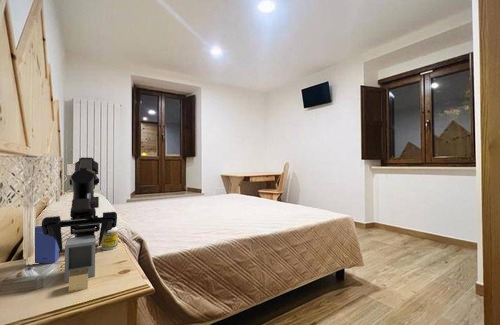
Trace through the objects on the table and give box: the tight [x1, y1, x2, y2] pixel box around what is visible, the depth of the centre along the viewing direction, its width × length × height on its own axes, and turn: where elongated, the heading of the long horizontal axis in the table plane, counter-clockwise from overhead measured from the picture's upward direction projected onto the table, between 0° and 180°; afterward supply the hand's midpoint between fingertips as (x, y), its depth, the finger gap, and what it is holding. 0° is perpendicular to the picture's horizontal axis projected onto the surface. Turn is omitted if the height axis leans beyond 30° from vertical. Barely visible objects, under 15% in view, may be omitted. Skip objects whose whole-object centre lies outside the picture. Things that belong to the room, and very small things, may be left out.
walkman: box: [34, 225, 60, 264], centre depth 80 cm, size 8×3×12 cm, turn 109°
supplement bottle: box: [101, 226, 119, 251], centre depth 94 cm, size 5×5×10 cm
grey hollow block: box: [64, 235, 96, 283], centre depth 72 cm, size 7×7×10 cm
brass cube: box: [68, 268, 89, 293], centre depth 65 cm, size 4×4×4 cm
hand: (80, 248), depth 71 cm, fingers open, 9 cm apart
